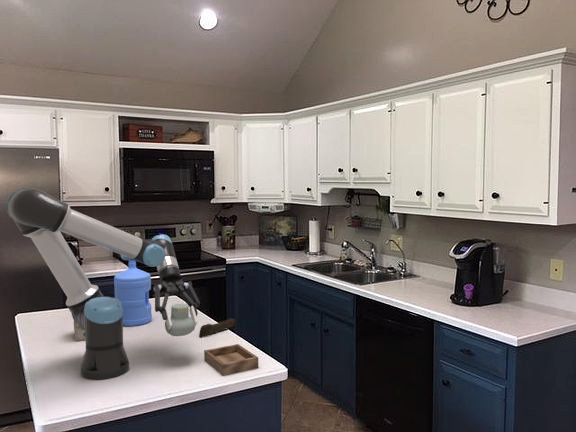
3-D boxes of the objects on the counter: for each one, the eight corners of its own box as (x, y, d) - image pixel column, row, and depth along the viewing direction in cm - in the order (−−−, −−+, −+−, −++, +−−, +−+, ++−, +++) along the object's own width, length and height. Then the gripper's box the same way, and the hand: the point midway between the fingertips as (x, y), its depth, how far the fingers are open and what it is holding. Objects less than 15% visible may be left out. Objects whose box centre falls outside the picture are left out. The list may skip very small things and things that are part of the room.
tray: (222, 375, 160) (222, 365, 159) (204, 360, 173) (204, 350, 173) (258, 367, 166) (258, 357, 166) (238, 353, 180) (238, 343, 180)
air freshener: (196, 336, 170) (197, 307, 169) (173, 340, 166) (173, 310, 165) (185, 328, 179) (185, 301, 179) (163, 331, 175) (163, 303, 174)
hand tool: (230, 326, 214) (229, 315, 214) (236, 328, 212) (236, 317, 211) (195, 336, 200) (195, 325, 200) (201, 338, 198) (201, 327, 197)
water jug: (124, 329, 210) (122, 263, 208) (109, 321, 221) (107, 259, 219) (158, 322, 220) (156, 259, 218) (142, 314, 232) (141, 255, 230)
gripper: (193, 275, 190) (209, 327, 177) (137, 279, 179) (149, 335, 166) (199, 263, 185) (215, 316, 172) (141, 267, 174) (154, 323, 161)
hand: (183, 325), depth 169 cm, fingers closed on air freshener, 8 cm apart
